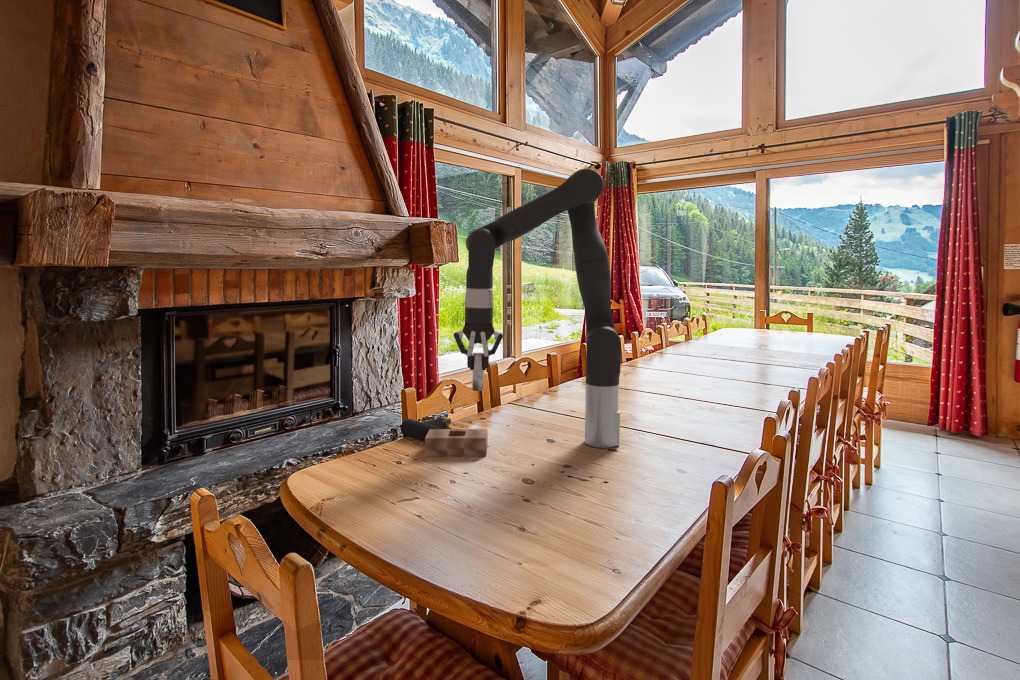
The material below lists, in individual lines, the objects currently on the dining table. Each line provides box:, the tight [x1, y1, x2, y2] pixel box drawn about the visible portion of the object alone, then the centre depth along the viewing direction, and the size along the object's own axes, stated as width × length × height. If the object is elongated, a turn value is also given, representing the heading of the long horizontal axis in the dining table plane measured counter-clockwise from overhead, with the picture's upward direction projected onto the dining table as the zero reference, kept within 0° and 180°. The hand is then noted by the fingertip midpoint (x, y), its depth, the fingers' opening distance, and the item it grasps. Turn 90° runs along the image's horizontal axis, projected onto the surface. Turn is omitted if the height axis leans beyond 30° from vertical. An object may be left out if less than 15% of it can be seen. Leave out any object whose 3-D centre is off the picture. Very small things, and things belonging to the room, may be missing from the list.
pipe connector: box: [400, 416, 452, 442], centre depth 158 cm, size 12×5×15 cm
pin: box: [471, 352, 485, 392], centre depth 145 cm, size 3×3×10 cm
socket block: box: [424, 428, 489, 458], centre depth 145 cm, size 16×8×5 cm, turn 90°
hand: (477, 369), depth 145 cm, fingers closed on pin, 3 cm apart
